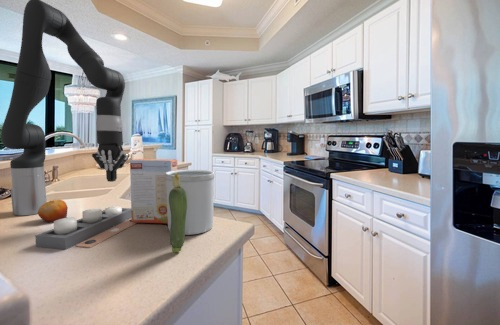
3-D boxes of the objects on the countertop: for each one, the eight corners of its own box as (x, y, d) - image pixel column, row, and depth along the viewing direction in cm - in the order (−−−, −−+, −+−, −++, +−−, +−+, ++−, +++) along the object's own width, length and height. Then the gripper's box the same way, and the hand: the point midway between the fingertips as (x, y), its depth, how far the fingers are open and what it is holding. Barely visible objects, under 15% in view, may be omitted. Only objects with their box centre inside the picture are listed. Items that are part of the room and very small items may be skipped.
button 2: (102, 218, 83) (101, 209, 83) (112, 214, 88) (112, 206, 88) (115, 219, 82) (114, 210, 82) (125, 215, 87) (124, 206, 87)
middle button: (78, 222, 74) (78, 212, 74) (92, 217, 79) (91, 208, 79) (93, 224, 73) (92, 213, 73) (105, 218, 78) (105, 209, 78)
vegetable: (172, 247, 64) (170, 170, 62) (189, 247, 64) (188, 170, 62) (168, 255, 59) (166, 173, 57) (186, 255, 60) (185, 172, 58)
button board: (36, 246, 64) (35, 235, 64) (111, 215, 90) (111, 207, 90) (65, 249, 62) (64, 238, 62) (134, 216, 89) (133, 208, 88)
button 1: (49, 234, 65) (48, 222, 65) (66, 227, 70) (65, 217, 70) (65, 235, 64) (64, 224, 64) (81, 228, 69) (81, 218, 69)
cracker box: (179, 219, 86) (178, 158, 84) (171, 224, 80) (170, 160, 78) (140, 217, 87) (139, 158, 85) (130, 222, 81) (129, 159, 79)
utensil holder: (154, 231, 74) (154, 172, 72) (184, 217, 87) (184, 168, 86) (197, 239, 68) (198, 177, 67) (221, 223, 82) (223, 171, 81)
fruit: (79, 212, 89) (66, 196, 84) (60, 230, 83) (44, 213, 78) (63, 210, 91) (49, 194, 87) (43, 227, 85) (28, 211, 81)
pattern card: (75, 246, 64) (75, 245, 64) (132, 218, 87) (132, 217, 87) (90, 247, 63) (90, 246, 63) (143, 219, 86) (143, 218, 86)
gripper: (83, 129, 80) (85, 182, 81) (119, 129, 77) (121, 184, 79) (100, 130, 87) (103, 178, 89) (134, 130, 85) (136, 180, 86)
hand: (111, 181), depth 84 cm, fingers closed
